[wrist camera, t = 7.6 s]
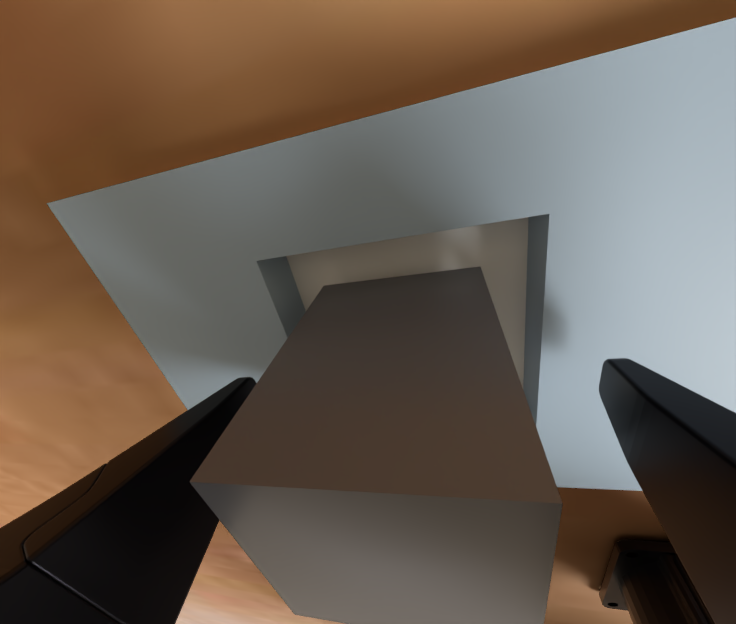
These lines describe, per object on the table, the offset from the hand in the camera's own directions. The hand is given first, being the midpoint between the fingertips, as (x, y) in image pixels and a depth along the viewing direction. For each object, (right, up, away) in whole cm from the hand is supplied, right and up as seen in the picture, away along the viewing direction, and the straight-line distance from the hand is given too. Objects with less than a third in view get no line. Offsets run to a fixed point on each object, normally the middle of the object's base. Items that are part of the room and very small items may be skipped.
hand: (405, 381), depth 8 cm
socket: (0, +1, +3) cm, 3 cm away
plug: (0, +1, +2) cm, 3 cm away
